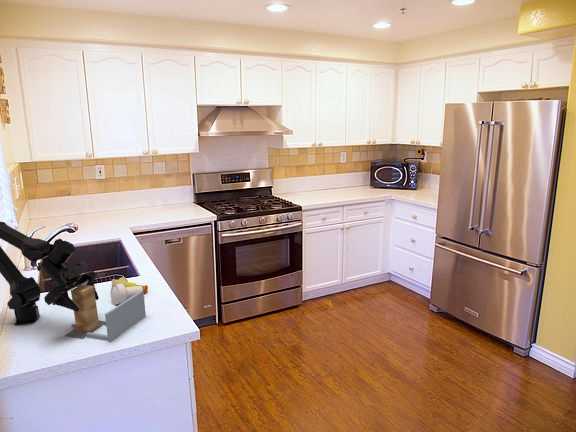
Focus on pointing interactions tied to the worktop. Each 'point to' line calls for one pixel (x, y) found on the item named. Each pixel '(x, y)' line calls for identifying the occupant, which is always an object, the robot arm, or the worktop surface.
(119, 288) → the spotlight
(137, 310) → the lane rack
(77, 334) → the mat
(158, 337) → the worktop surface
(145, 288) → the toy
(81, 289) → the oak block
